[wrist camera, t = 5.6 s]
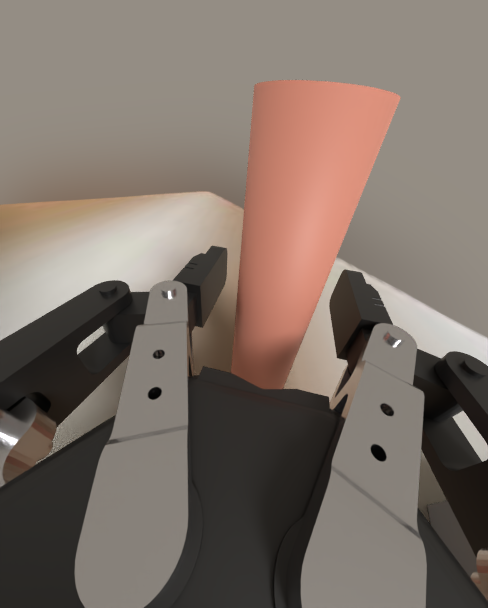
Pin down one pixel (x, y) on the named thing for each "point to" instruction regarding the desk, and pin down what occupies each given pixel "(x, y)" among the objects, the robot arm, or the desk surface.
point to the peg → (298, 210)
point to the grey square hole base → (452, 535)
